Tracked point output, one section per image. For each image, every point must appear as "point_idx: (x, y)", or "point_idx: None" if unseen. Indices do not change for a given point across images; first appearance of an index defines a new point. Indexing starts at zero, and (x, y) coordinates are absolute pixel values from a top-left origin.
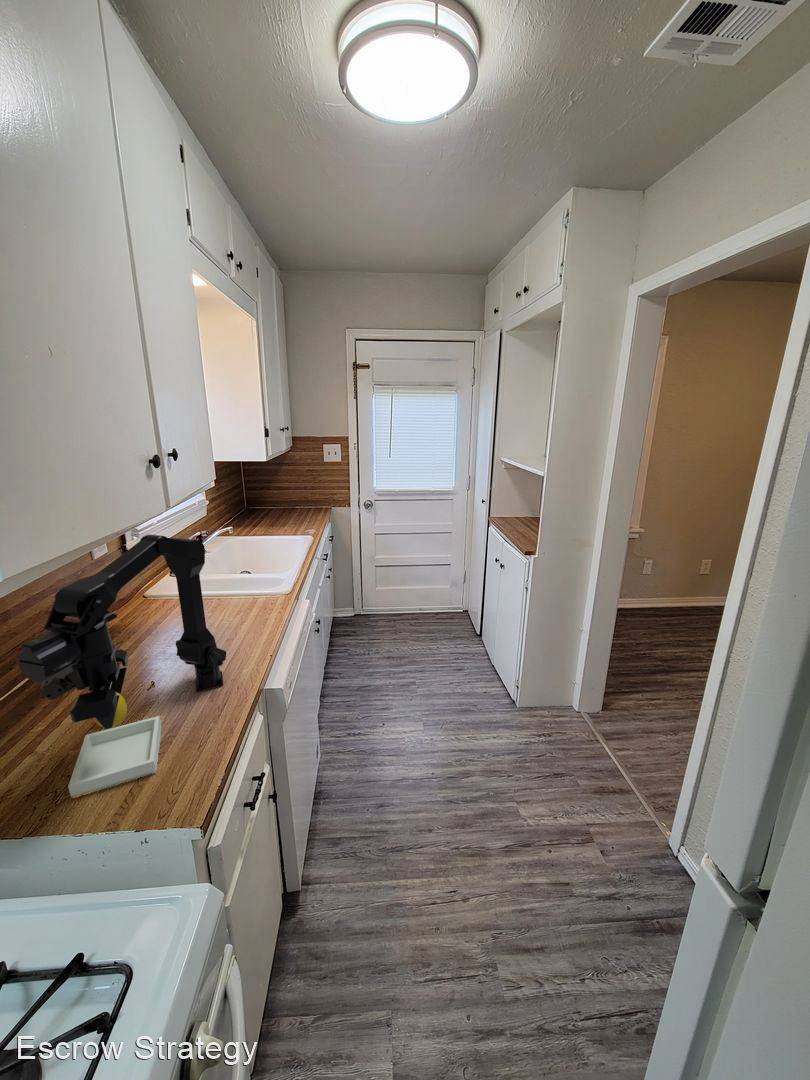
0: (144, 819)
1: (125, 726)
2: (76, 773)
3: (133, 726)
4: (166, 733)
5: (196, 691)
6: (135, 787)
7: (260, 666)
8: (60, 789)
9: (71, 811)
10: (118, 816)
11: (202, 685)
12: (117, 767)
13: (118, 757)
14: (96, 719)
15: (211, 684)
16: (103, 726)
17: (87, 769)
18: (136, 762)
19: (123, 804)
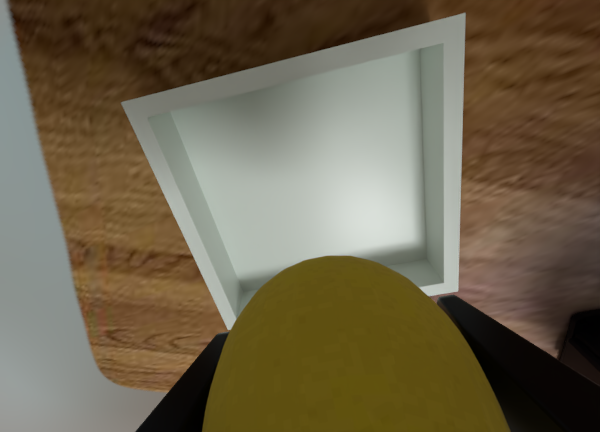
0: (101, 308)
1: (447, 192)
2: (192, 102)
3: (439, 216)
4: None
5: (575, 317)
6: (194, 264)
7: None
8: (201, 22)
9: (108, 121)
10: (103, 256)
11: (586, 346)
12: (265, 201)
13: (313, 187)
14: (223, 357)
15: (572, 366)
16: (196, 361)
17: (275, 96)
18: (277, 248)
19: (139, 254)
